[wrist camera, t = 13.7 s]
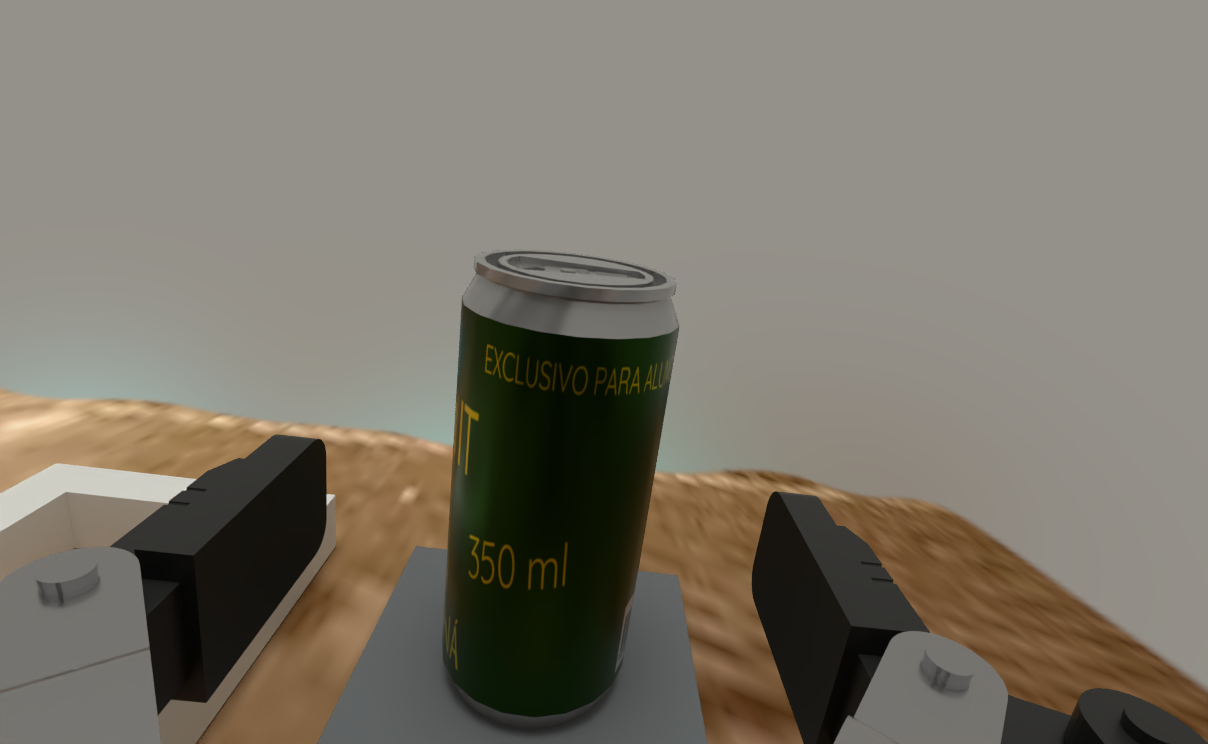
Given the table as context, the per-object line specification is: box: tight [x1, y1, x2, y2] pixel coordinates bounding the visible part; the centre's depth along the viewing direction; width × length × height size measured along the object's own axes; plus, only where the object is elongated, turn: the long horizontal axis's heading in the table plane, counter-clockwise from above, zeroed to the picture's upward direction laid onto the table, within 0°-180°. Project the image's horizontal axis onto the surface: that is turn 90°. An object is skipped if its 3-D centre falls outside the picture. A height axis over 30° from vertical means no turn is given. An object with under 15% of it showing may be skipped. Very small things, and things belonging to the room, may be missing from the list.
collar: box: [0, 463, 336, 744], centre depth 19 cm, size 10×10×2 cm
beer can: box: [442, 250, 679, 729], centre depth 17 cm, size 5×5×12 cm
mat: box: [317, 546, 707, 744], centre depth 19 cm, size 10×10×1 cm
